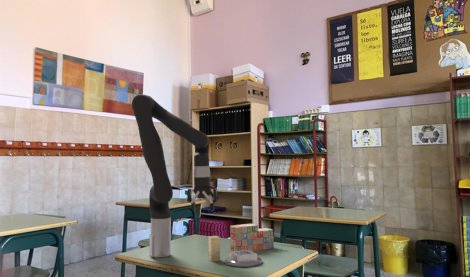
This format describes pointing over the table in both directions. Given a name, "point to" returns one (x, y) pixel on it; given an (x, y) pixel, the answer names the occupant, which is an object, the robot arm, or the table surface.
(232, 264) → the gray round dish
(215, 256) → the wooden block
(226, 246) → the table surface
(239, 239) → the stack of blocks
